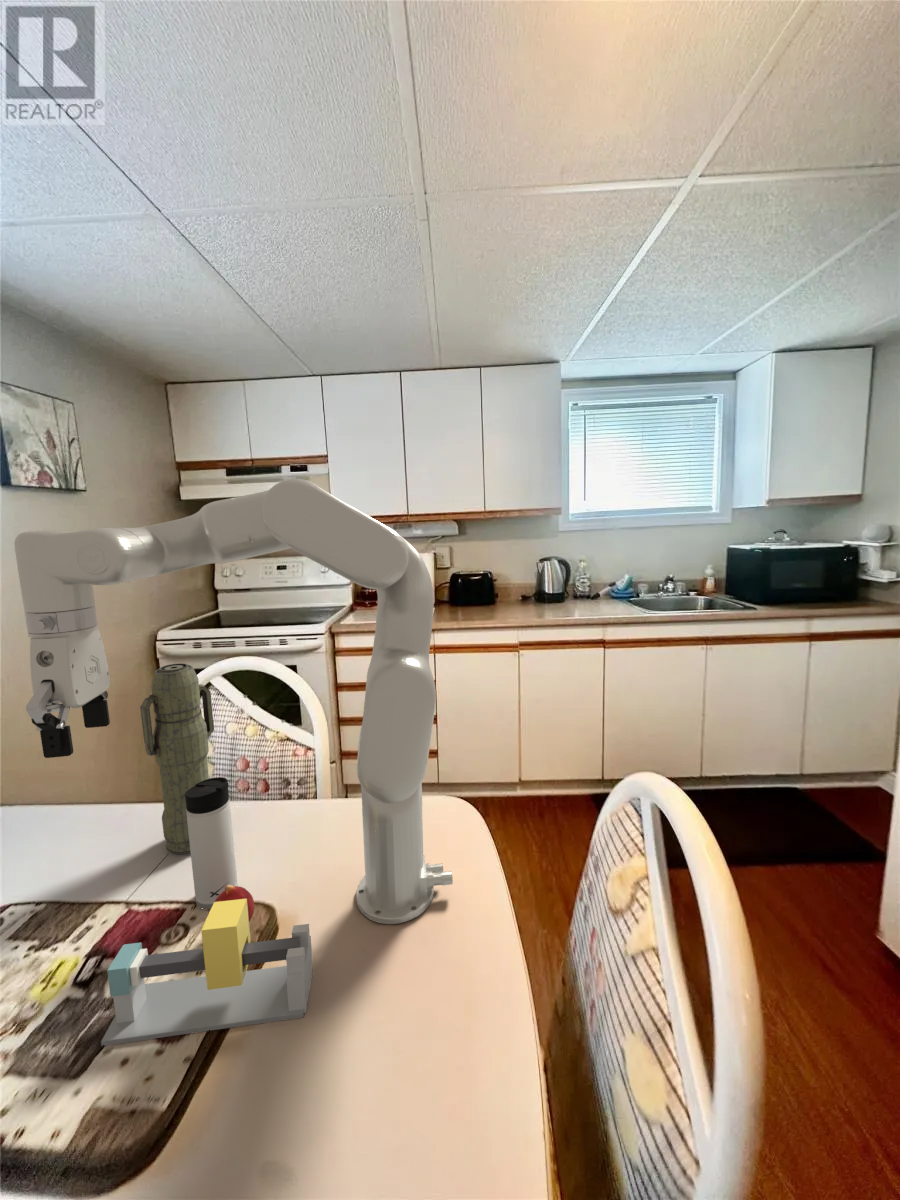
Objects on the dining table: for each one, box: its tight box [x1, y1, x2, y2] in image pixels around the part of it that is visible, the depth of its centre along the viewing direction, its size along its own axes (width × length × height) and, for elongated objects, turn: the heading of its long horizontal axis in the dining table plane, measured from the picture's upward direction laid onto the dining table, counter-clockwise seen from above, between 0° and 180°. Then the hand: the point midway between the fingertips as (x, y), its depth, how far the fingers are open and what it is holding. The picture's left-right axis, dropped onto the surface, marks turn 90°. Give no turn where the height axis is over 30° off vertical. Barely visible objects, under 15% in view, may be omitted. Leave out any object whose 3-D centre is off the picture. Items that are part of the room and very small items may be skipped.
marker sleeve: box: [200, 899, 252, 990], centre depth 60 cm, size 4×4×8 cm
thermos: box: [139, 662, 215, 856], centre depth 91 cm, size 9×12×35 cm
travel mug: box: [185, 776, 239, 910], centre depth 77 cm, size 6×7×20 cm
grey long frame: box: [100, 923, 314, 1047], centre depth 60 cm, size 23×7×8 cm, turn 98°
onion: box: [215, 885, 255, 923], centre depth 71 cm, size 6×6×8 cm
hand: (79, 740), depth 68 cm, fingers open, 9 cm apart
